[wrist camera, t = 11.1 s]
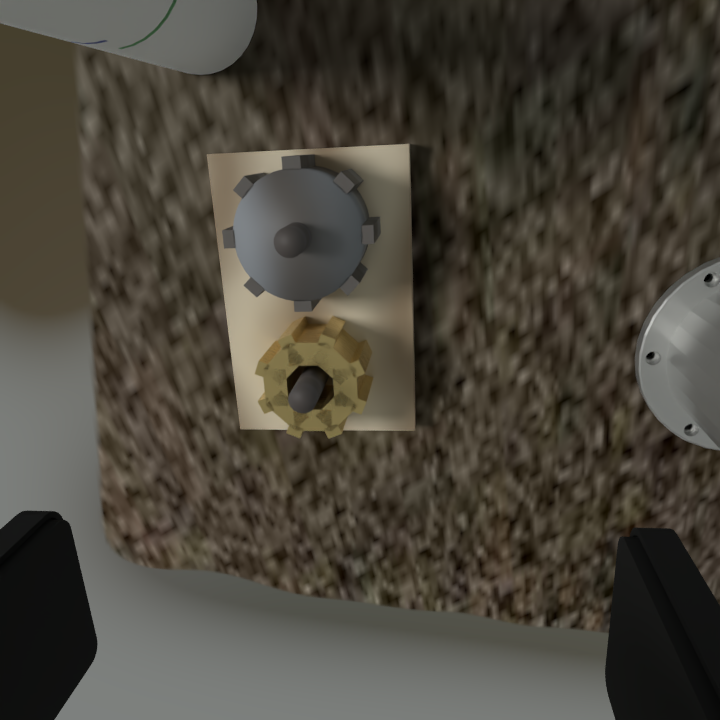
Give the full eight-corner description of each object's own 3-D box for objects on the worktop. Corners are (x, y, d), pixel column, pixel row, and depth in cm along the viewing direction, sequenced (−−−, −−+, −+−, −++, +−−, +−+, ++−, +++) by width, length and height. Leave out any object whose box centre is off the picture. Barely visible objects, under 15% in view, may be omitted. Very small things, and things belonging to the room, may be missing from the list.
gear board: (409, 143, 37) (402, 144, 30) (415, 423, 42) (411, 476, 36) (213, 153, 38) (164, 156, 31) (245, 421, 44) (210, 472, 37)
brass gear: (370, 315, 39) (363, 333, 35) (374, 411, 41) (368, 439, 37) (268, 316, 40) (250, 334, 36) (277, 411, 42) (261, 437, 38)
